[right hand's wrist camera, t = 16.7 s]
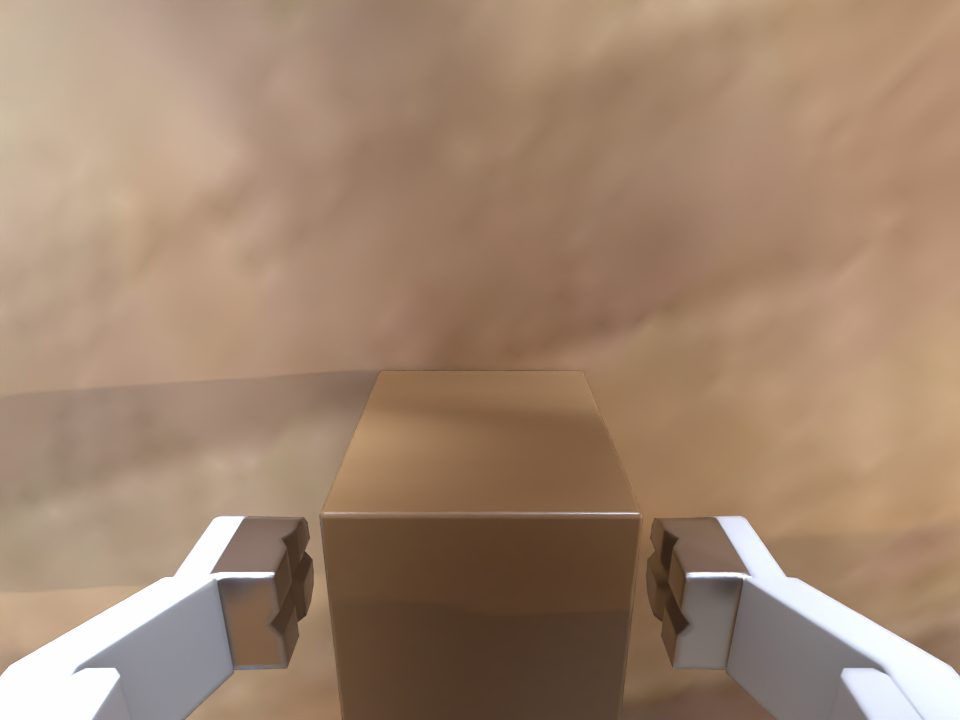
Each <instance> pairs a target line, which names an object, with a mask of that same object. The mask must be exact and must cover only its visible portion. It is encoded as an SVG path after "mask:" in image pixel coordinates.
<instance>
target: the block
mask: <svg viewBox="0 0 960 720" xmlns="http://www.w3.org/2000/svg"><path fill="white" fill-rule="evenodd" d="M319 516H320V525H321V534H322V543H323V552H324V562H325V571H326V580H327V589H328V598H329V607H330V616H331V625H332V634H333V643H334V652H335V662H336V671H337V680H338V689H339V698H340V707H341V716H342V720H620V718H621V709H622V700H623V691H624V682H625V673H626V665H627V656H628V647H629V638H630V629H631V620H632V611H633V602H634V594H635V585H636V576H637V567H638V558H639V549H640V540H641V531H642V522H643V514H642V511H641V509H640V507H639V504H638V502H637V499H636V497H635V495H634V492H633V490H632V488H631V485H630V483H629V480H628V478H627V476H626V473H625V471H624V468H623V466H622V464H621V461H620V459H619V457H618V454H617V452H616V449H615V447H614V445H613V442H612V440H611V437H610V435H609V433H608V430H607V428H606V425H605V423H604V421H603V418H602V416H601V414H600V411H599V409H598V406H597V404H596V402H595V399H594V397H593V394H592V392H591V390H590V387H589V385H588V383H587V380H586V378H585V375H584V373H583V372H582V371H380V372H379V374H378V377H377V379H376V381H375V384H374V386H373V389H372V391H371V393H370V396H369V398H368V401H367V403H366V405H365V408H364V410H363V412H362V415H361V417H360V420H359V422H358V424H357V427H356V429H355V431H354V434H353V436H352V439H351V441H350V443H349V446H348V448H347V451H346V453H345V455H344V458H343V460H342V462H341V465H340V467H339V470H338V472H337V474H336V477H335V479H334V482H333V484H332V486H331V489H330V491H329V493H328V496H327V498H326V501H325V503H324V505H323V508H322V510H321V513H320V515H319Z"/></svg>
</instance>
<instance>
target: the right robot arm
mask: <svg viewBox="0 0 960 720" xmlns="http://www.w3.org/2000/svg"><path fill="white" fill-rule="evenodd" d="M309 539H310V535H309V529H308V522H307V521H306V519H305V518H304V517H261V516H248V517H246V516H219V517H217V518H215V519H214V520H213V521H212V522H211V523H210V525H209V526H208V528H207V529H206V531H205V532H204V534H203V535H202V536H201V538H200V539H199V541H198V542H197V544H196V545H195V547H194V548H193V549H192V551H191V552H190V554H189V555H188V557H187V558H186V560H185V561H184V562H183V564H182V565H181V567H180V568H179V570H178V571H177V573H176V574H175V575H174V577H170V578H162V579H161V580H159V581H157V582H155V583H154V584H152V585H150V586H148V587H147V588H145V589H143V590H141V591H140V592H138V593H136V594H134V595H133V596H131V597H129V598H127V599H126V600H124V601H122V602H120V603H119V604H117V605H115V606H113V607H112V608H110V609H108V610H106V611H105V612H103V613H101V614H99V615H98V616H96V617H94V618H92V619H91V620H89V621H87V622H85V623H84V624H82V625H80V626H78V627H77V628H75V629H73V630H71V631H70V632H68V633H66V634H64V635H63V636H61V637H59V638H57V639H56V640H54V641H52V642H50V643H49V644H47V645H45V646H43V647H42V648H40V649H38V650H36V651H35V652H33V653H31V654H29V655H28V656H26V657H24V658H22V659H21V660H19V661H17V662H15V663H14V664H12V665H10V666H9V667H8V669H7V670H6V671H5V672H4V673H3V674H2V675H1V677H0V720H185V719H186V718H187V717H188V716H189V715H190V714H191V713H192V712H193V711H194V710H195V709H196V708H197V707H198V706H200V705H201V704H202V703H203V702H204V701H205V700H206V699H207V698H208V697H209V696H210V695H211V694H212V693H213V692H214V691H215V690H216V689H218V688H219V687H220V686H221V685H222V684H223V683H224V682H225V681H226V680H227V679H228V678H229V677H230V676H231V675H232V674H233V673H234V670H250V669H284V668H287V667H288V665H289V662H290V659H291V656H292V654H293V651H294V648H295V646H296V643H297V640H298V637H299V632H298V624H297V622H298V621H300V620H301V619H302V618H304V617H305V616H306V615H307V612H308V609H309V606H310V603H311V598H312V592H313V585H314V569H313V560H312V558H311V557H310V556H309V555H308V554H307V553H306V552H305V549H306V546H307V544H308V542H309ZM650 539H651V541H652V544H653V546H654V549H655V552H654V553H653V554H652V555H651V556H650V557H649V558H648V561H647V572H646V580H647V593H648V598H649V602H650V606H651V609H652V612H653V615H654V616H655V617H657V618H658V619H659V620H660V621H662V622H663V624H662V632H661V637H662V640H663V643H664V645H665V648H666V651H667V653H668V656H669V659H670V662H671V664H672V667H673V668H674V669H709V670H726V673H727V674H728V675H729V676H730V677H731V678H732V679H733V680H734V681H736V682H737V683H738V684H739V685H740V686H741V687H742V688H743V689H744V690H745V691H746V692H747V693H748V694H749V695H750V696H751V697H752V698H753V699H754V700H756V701H757V702H758V703H759V704H760V705H761V706H762V707H763V708H764V709H765V710H766V711H767V712H768V713H769V714H770V715H771V716H772V717H773V718H774V719H776V720H960V676H959V675H958V674H957V673H956V672H955V670H954V669H953V668H952V667H951V666H949V665H948V664H946V663H944V662H942V661H941V660H939V659H937V658H935V657H934V656H932V655H930V654H929V653H927V652H925V651H923V650H922V649H920V648H918V647H916V646H915V645H913V644H911V643H909V642H908V641H906V640H904V639H902V638H901V637H899V636H897V635H895V634H894V633H892V632H890V631H888V630H887V629H885V628H883V627H881V626H880V625H878V624H876V623H874V622H873V621H871V620H869V619H867V618H866V617H864V616H862V615H860V614H859V613H857V612H855V611H853V610H852V609H850V608H848V607H846V606H845V605H843V604H841V603H840V602H838V601H836V600H834V599H833V598H831V597H829V596H827V595H826V594H824V593H822V592H820V591H819V590H817V589H815V588H813V587H812V586H810V585H808V584H806V583H805V582H803V581H801V580H799V579H798V578H790V577H786V575H785V574H784V573H783V571H782V570H781V568H780V567H779V565H778V564H777V563H776V561H775V560H774V558H773V557H772V555H771V554H770V552H769V551H768V550H767V548H766V547H765V545H764V544H763V542H762V541H761V540H760V538H759V537H758V535H757V534H756V532H755V531H754V530H753V528H752V527H751V525H750V524H749V522H748V521H747V520H746V519H745V518H744V517H742V516H718V517H703V518H654V521H653V524H652V528H651V535H650Z"/></svg>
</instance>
